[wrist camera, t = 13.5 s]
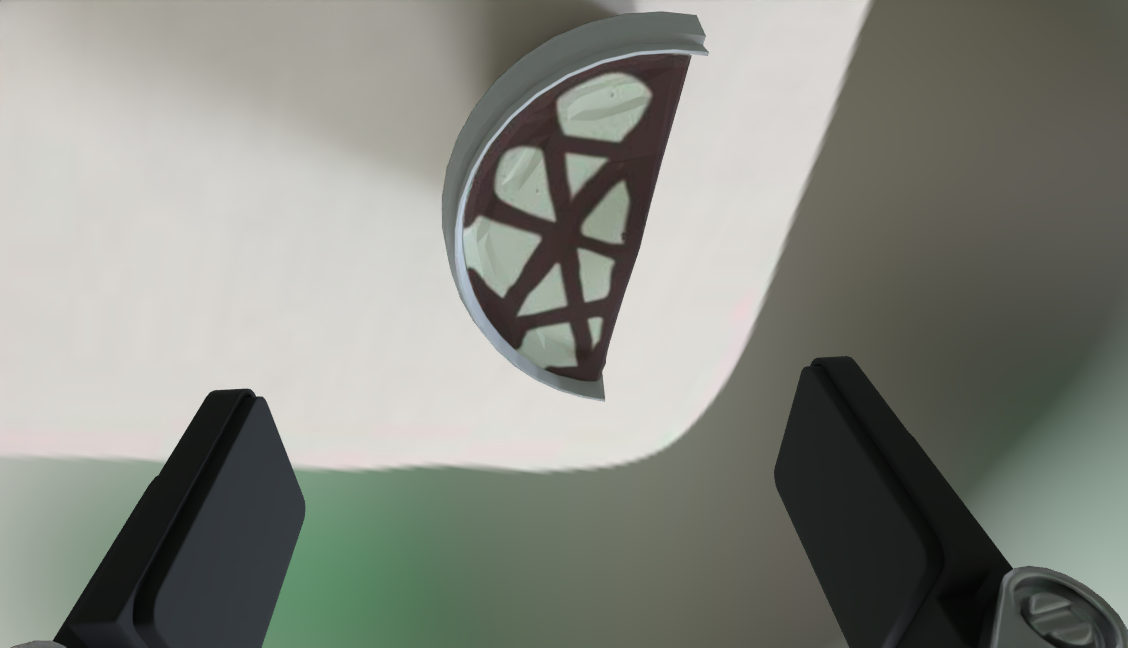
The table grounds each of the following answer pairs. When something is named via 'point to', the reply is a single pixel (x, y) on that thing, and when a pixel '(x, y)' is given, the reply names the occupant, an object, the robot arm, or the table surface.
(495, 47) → the table surface
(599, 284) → the food container
